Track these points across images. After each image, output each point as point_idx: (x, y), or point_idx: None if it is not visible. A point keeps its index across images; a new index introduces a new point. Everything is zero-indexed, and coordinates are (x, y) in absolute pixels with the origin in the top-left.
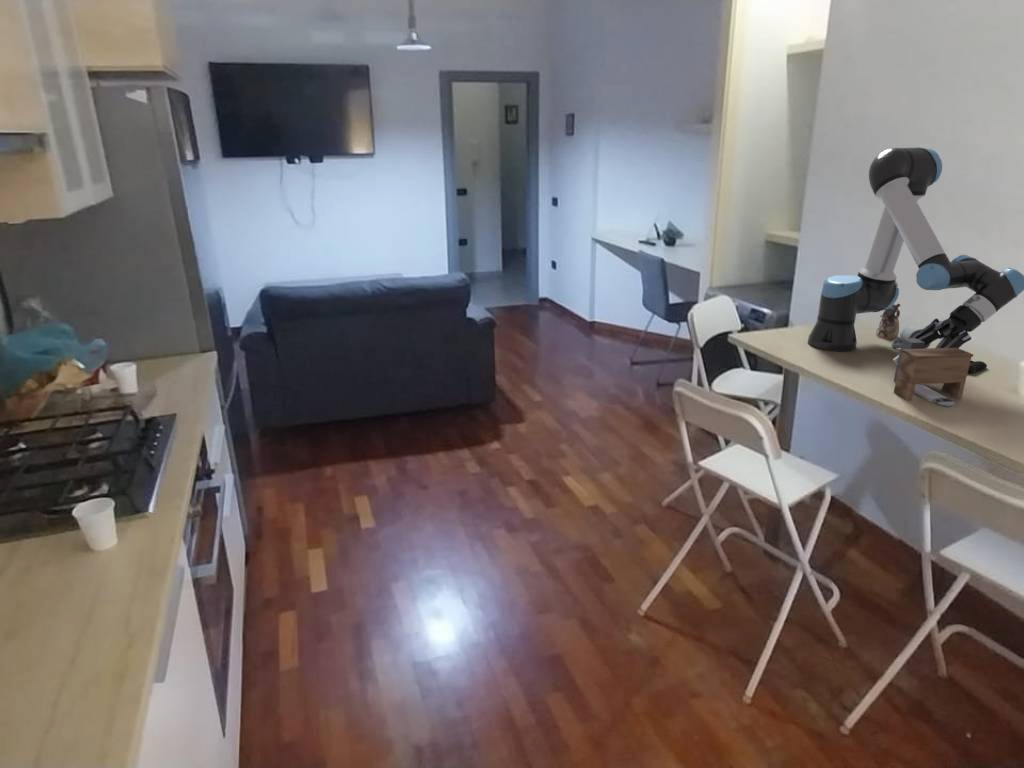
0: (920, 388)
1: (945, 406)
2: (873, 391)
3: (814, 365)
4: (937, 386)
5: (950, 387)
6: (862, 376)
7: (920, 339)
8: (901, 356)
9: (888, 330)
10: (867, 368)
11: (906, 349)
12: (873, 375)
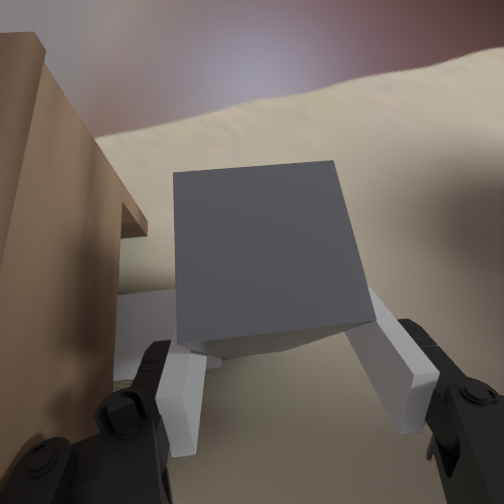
0: (140, 333)
1: None
2: (164, 161)
3: (423, 103)
4: (199, 476)
5: None
6: None
7: (499, 486)
8: (61, 91)
9: None
10: (433, 261)
11: (21, 59)
12: None
